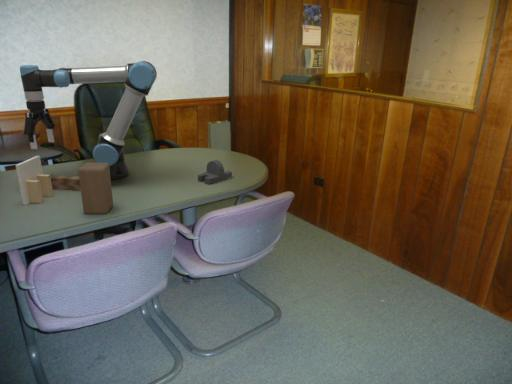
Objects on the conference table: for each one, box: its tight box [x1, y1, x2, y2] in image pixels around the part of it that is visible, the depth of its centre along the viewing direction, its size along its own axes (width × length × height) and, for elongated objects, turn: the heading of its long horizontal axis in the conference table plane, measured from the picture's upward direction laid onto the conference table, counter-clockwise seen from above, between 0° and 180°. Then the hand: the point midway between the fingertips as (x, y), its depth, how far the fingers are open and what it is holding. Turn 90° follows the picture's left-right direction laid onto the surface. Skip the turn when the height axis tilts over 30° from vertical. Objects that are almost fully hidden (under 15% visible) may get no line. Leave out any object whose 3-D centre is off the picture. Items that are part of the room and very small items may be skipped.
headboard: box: [15, 155, 54, 206], centre depth 170 cm, size 6×15×18 cm, turn 177°
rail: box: [49, 173, 81, 192], centre depth 185 cm, size 18×4×6 cm, turn 87°
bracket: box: [197, 159, 233, 186], centre depth 207 cm, size 10×18×11 cm, turn 141°
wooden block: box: [77, 162, 114, 215], centre depth 161 cm, size 10×10×20 cm
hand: (43, 145), depth 183 cm, fingers open, 13 cm apart
